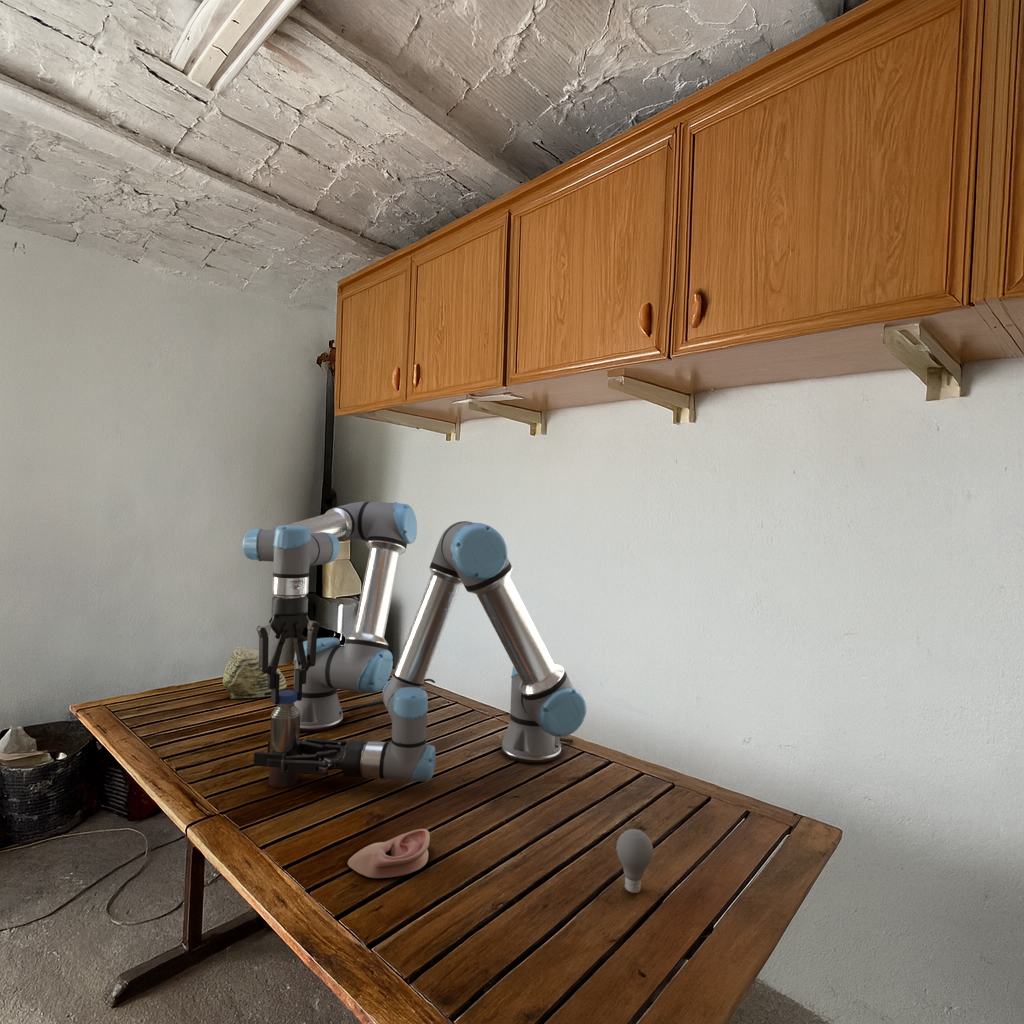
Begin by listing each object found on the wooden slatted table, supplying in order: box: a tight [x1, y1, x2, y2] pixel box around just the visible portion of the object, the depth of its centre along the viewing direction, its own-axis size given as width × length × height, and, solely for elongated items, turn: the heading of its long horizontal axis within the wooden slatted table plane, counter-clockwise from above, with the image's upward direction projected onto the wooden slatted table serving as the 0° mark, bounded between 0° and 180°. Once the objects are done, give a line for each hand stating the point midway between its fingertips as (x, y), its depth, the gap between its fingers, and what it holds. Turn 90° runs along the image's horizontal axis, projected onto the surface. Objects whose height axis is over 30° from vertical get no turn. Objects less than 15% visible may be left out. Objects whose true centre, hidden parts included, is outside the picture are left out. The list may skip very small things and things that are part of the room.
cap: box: [279, 689, 298, 704], centre depth 140 cm, size 5×5×2 cm
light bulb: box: [615, 828, 654, 894], centre depth 106 cm, size 6×6×10 cm
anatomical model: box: [347, 828, 431, 879], centre depth 111 cm, size 13×4×12 cm
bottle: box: [268, 703, 301, 788], centre depth 140 cm, size 6×6×19 cm
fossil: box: [222, 646, 288, 699], centre depth 198 cm, size 9×18×15 cm, turn 132°
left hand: (286, 700), depth 140 cm, fingers closed on cap, 4 cm apart
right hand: (261, 752), depth 140 cm, fingers closed on bottle, 6 cm apart
